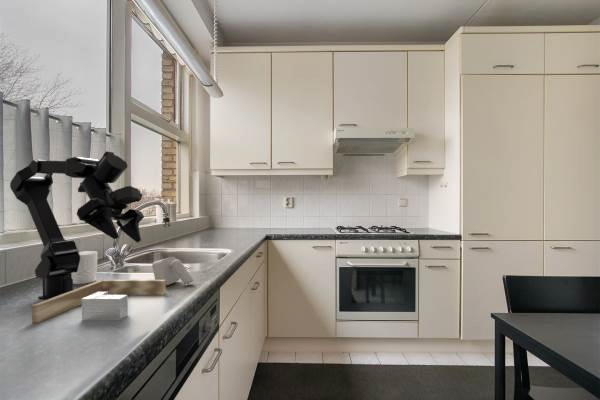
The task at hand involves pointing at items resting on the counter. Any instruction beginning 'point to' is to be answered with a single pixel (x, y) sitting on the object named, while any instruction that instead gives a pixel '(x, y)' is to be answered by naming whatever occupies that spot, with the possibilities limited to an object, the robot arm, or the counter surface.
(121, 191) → the robot arm
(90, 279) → the white cup
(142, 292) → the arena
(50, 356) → the counter surface
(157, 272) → the wall hook
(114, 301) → the bracket
